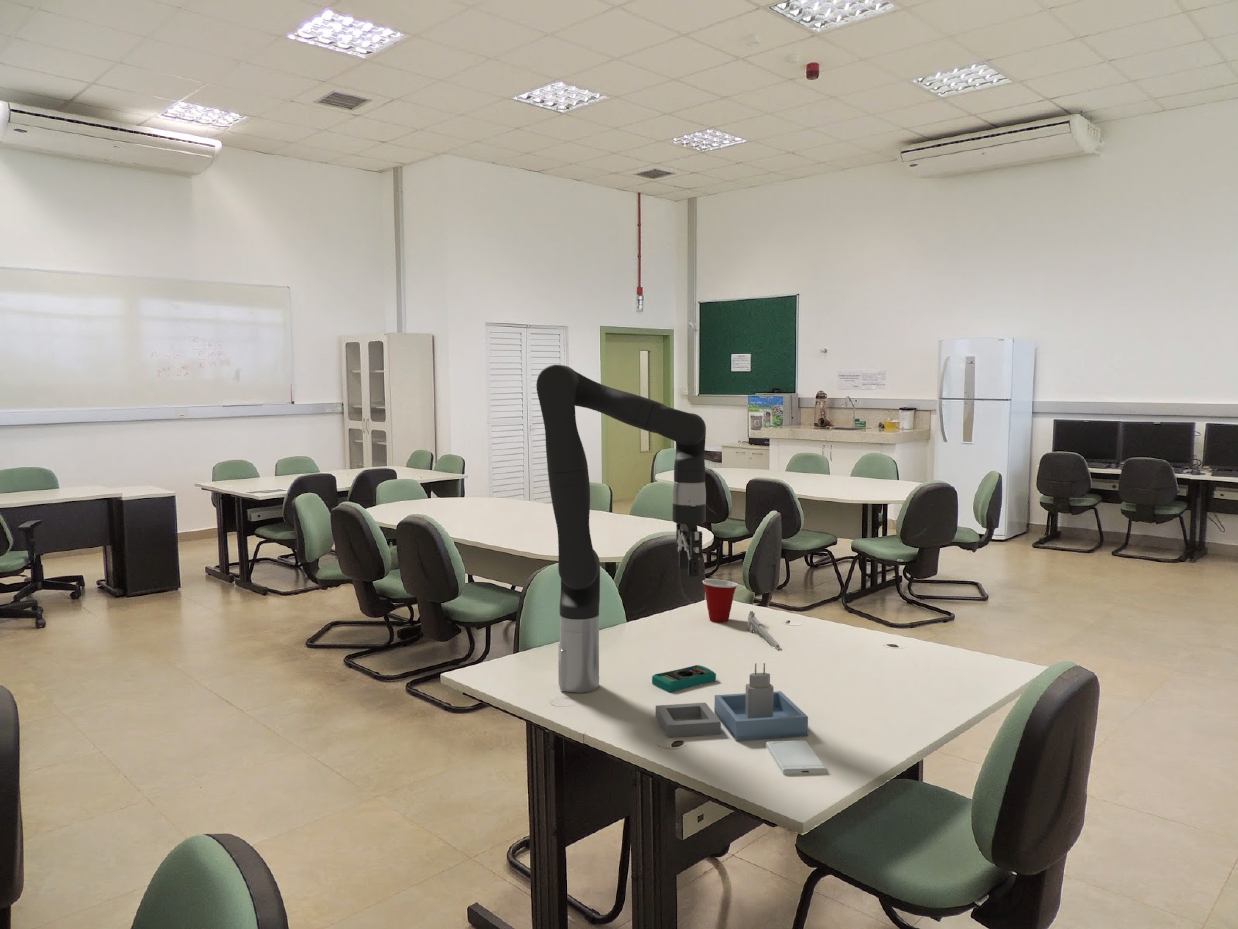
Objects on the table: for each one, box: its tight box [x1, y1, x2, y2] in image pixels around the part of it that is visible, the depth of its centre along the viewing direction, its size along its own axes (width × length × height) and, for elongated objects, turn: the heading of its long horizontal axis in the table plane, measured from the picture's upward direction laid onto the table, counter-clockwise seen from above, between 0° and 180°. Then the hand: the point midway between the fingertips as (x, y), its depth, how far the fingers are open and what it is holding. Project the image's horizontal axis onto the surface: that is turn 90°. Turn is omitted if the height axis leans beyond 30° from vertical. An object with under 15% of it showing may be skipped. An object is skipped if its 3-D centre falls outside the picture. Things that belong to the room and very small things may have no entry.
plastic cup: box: [702, 579, 739, 623], centre depth 259 cm, size 11×11×12 cm
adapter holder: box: [655, 702, 722, 738], centre depth 176 cm, size 11×11×2 cm
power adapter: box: [745, 662, 775, 719], centre depth 176 cm, size 3×5×12 cm, turn 98°
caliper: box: [747, 610, 782, 651], centre depth 238 cm, size 20×1×6 cm, turn 15°
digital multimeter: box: [651, 664, 717, 693], centre depth 202 cm, size 7×15×3 cm, turn 124°
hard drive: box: [765, 740, 828, 776], centre depth 160 cm, size 2×8×12 cm
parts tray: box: [713, 690, 809, 742], centre depth 177 cm, size 15×15×4 cm
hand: (688, 572), depth 193 cm, fingers open, 8 cm apart
